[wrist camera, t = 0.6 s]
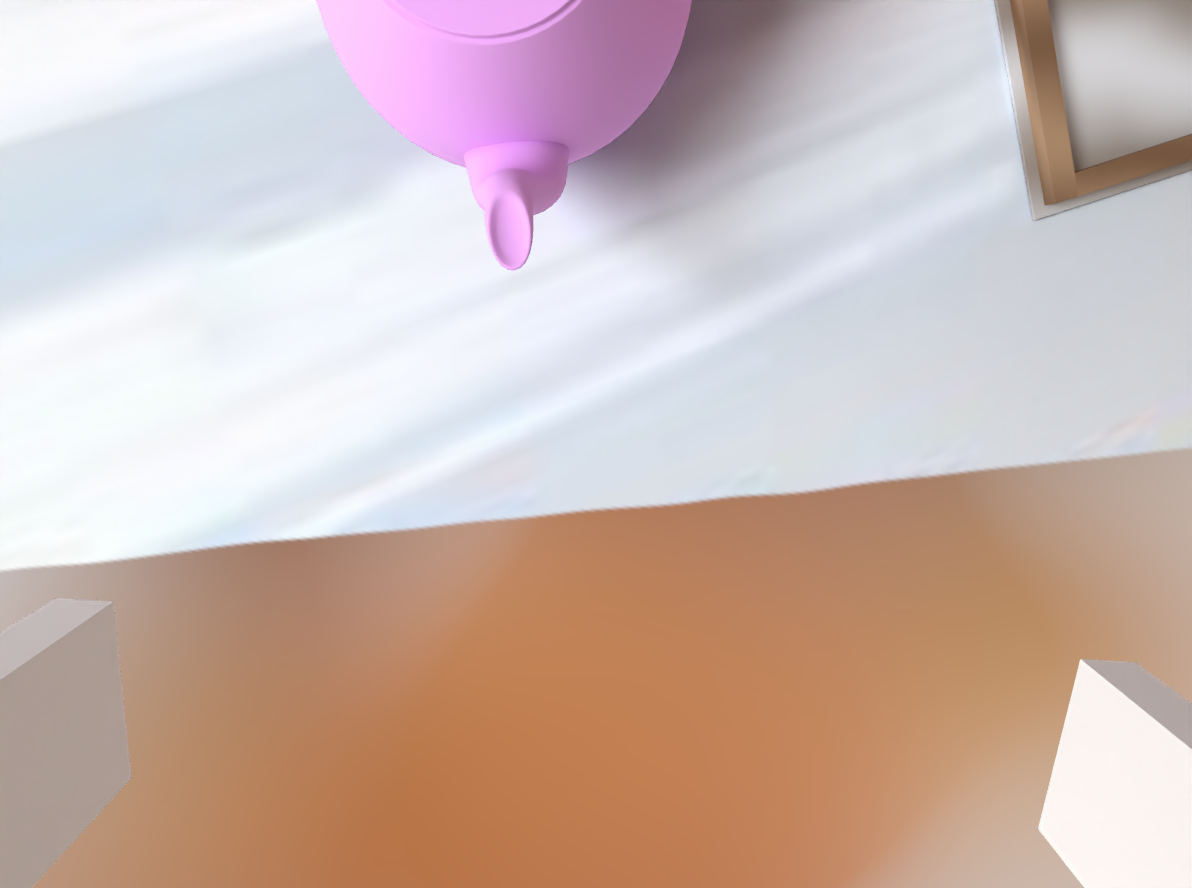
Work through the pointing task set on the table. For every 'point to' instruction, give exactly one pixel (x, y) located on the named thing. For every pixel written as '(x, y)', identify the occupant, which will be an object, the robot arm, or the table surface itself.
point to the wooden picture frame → (1098, 95)
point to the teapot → (508, 87)
